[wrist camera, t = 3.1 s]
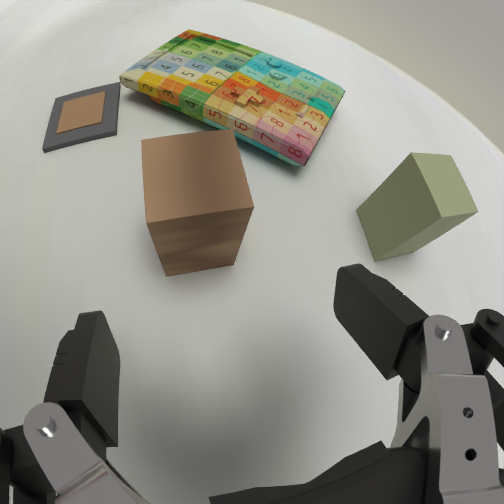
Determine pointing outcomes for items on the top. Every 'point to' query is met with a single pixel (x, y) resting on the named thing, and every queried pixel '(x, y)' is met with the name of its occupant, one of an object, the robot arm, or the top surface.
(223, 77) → the puzzle game
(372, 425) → the top surface
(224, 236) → the walnut block
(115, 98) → the tile
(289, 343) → the top surface
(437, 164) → the olive block
